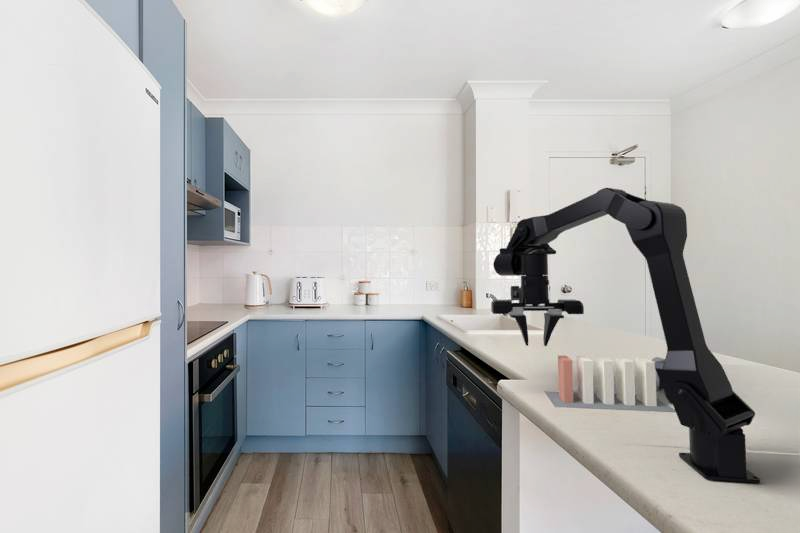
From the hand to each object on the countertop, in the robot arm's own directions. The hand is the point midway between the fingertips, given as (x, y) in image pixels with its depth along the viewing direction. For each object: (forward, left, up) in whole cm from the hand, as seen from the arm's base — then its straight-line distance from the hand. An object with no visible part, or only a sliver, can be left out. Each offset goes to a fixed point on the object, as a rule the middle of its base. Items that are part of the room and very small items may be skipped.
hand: (536, 345), depth 80 cm
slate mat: (0, -14, -12) cm, 18 cm away
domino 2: (0, -10, -12) cm, 15 cm away
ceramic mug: (+9, -33, -12) cm, 36 cm away
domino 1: (0, -6, -12) cm, 13 cm away
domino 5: (0, -22, -12) cm, 25 cm away
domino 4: (0, -18, -12) cm, 21 cm away
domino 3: (0, -14, -12) cm, 18 cm away
